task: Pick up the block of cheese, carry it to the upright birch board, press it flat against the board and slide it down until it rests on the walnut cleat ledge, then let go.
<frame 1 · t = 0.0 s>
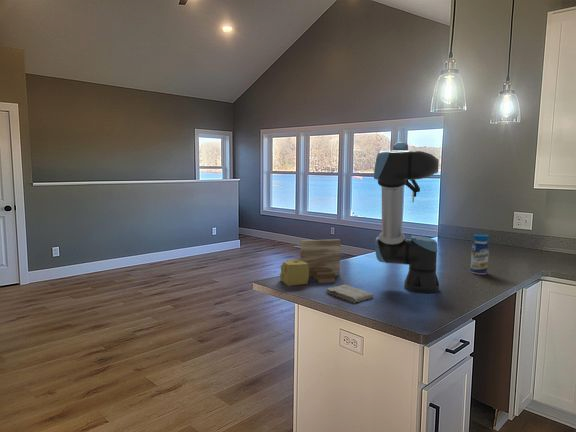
hand: (400, 200, 234), 36 cm above the worktop, tool tilted 35°, fingers open, 13 cm apart
beverage bottle: (478, 273, 218), on the worktop
wall board: (319, 275, 209), on the worktop
cheese: (294, 282, 197), on the worktop
washcloth: (348, 296, 178), on the worktop
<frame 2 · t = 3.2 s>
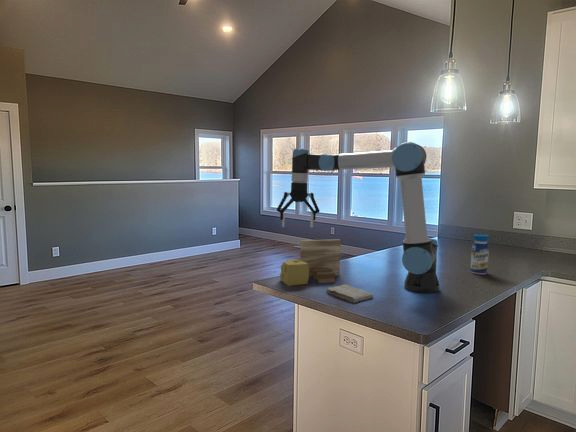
hand: (297, 227, 198), 26 cm above the worktop, tool pointing down, fingers open, 13 cm apart
nothing on the worktop moved.
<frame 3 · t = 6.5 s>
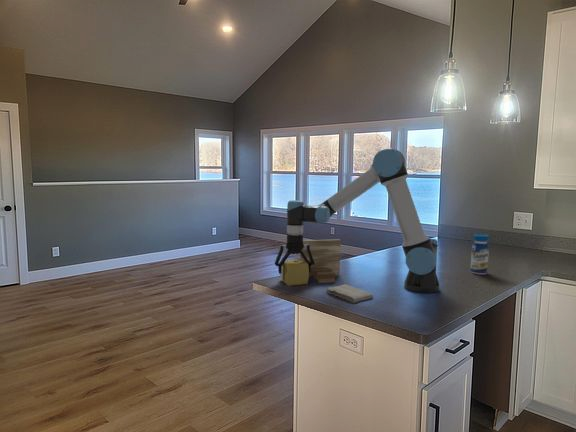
hand: (294, 279, 196), 1 cm above the worktop, tool pointing down, fingers closed on cheese, 11 cm apart
cheese: (294, 282, 197), on the worktop, touching gripper
everything else where it was.
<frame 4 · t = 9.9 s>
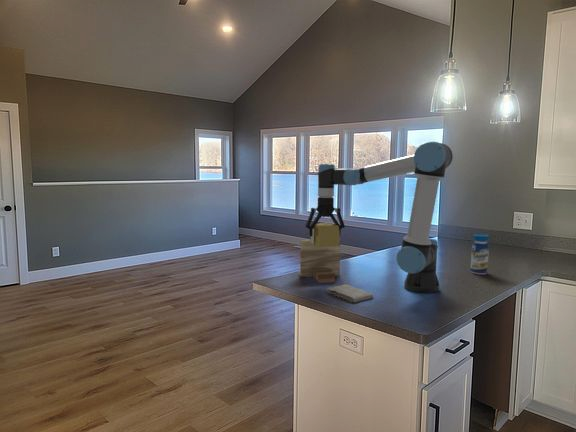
hand: (324, 242, 199), 18 cm above the worktop, tool pointing down, fingers closed on cheese, 11 cm apart
cheese: (324, 245, 199), point 17 cm above the worktop, touching gripper
everything else where it was.
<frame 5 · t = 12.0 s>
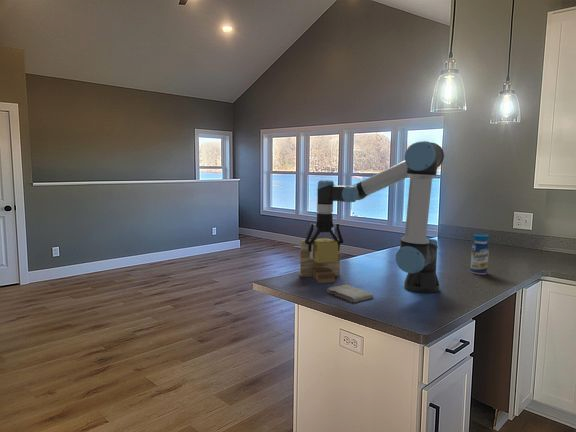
hand: (323, 258, 201), 10 cm above the worktop, tool pointing down, fingers closed on cheese, 11 cm apart
cheese: (323, 260, 201), point 9 cm above the worktop, touching gripper
everything else where it was.
when the fingers open (6 cm above the worktop, at t = 13.7 s): cheese stays where it is, resting on wall board.
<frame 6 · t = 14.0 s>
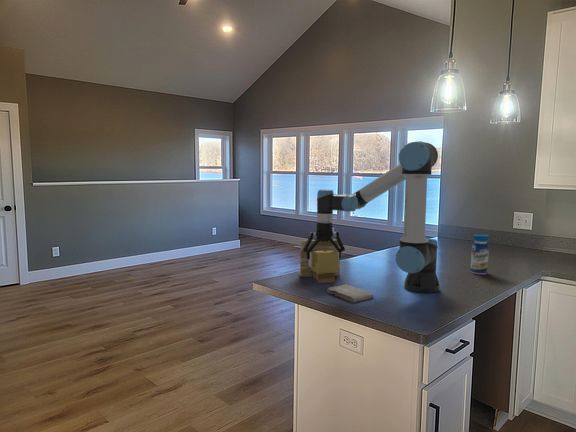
hand: (323, 265, 202), 7 cm above the worktop, tool pointing down, fingers open, 13 cm apart
cheese: (324, 271, 202), point 4 cm above the worktop, touching wall board
everything else where it was.
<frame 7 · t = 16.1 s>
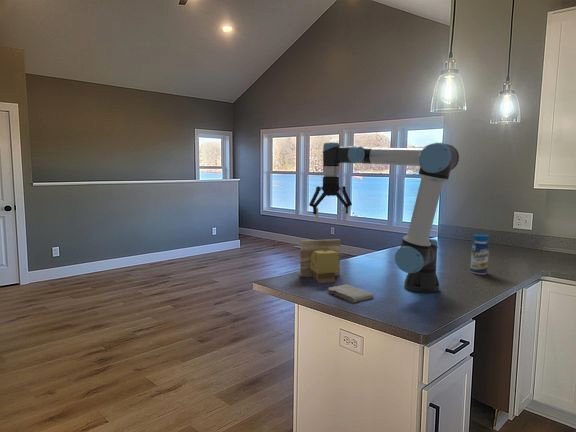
hand: (330, 221, 198), 29 cm above the worktop, tool pointing down, fingers open, 13 cm apart
nothing on the worktop moved.
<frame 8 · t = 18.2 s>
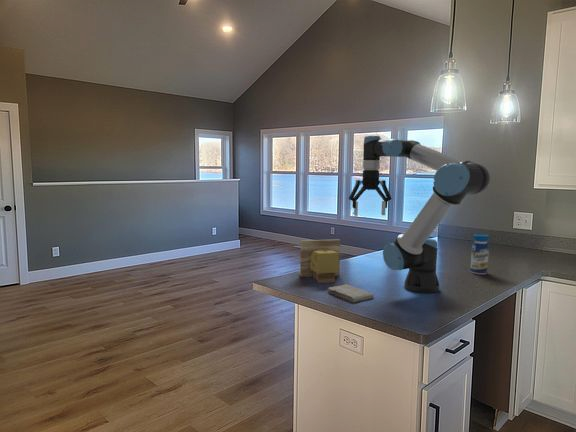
hand: (369, 215, 196), 32 cm above the worktop, tool pointing down, fingers open, 13 cm apart
nothing on the worktop moved.
at the end: cheese inside the target area on the wall board (0.6 cm from its centre), point 3.8 cm above the wall board's base; cheese touching wall board; cheese tilted 0° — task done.
